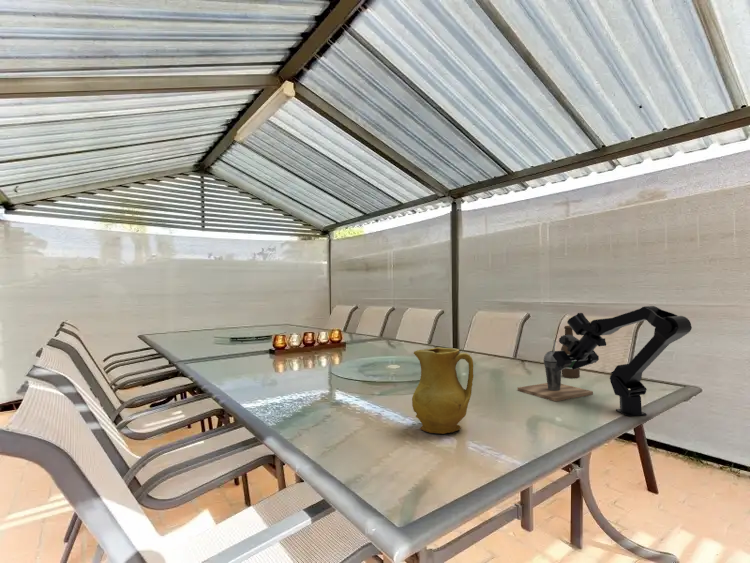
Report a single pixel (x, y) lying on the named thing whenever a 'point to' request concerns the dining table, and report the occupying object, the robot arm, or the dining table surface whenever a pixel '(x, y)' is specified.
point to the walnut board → (555, 392)
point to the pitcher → (441, 390)
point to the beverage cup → (552, 371)
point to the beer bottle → (569, 371)
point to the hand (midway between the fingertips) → (564, 369)
